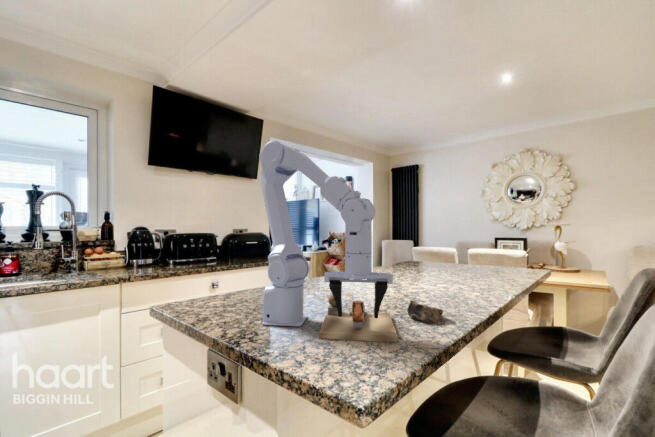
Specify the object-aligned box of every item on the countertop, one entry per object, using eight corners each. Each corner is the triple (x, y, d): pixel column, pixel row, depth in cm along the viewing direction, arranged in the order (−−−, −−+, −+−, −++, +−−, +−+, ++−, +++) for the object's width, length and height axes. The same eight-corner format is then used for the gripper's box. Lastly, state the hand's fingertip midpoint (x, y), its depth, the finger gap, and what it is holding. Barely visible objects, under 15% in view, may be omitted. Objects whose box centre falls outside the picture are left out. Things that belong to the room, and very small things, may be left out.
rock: (431, 327, 68) (454, 312, 74) (423, 303, 69) (446, 290, 75) (404, 326, 75) (426, 313, 81) (396, 304, 76) (419, 292, 82)
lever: (352, 306, 79) (352, 287, 79) (364, 306, 78) (364, 287, 79) (350, 327, 62) (350, 303, 62) (365, 328, 61) (365, 303, 62)
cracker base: (319, 338, 61) (319, 308, 61) (327, 315, 77) (327, 291, 77) (397, 342, 59) (397, 311, 59) (389, 317, 75) (389, 293, 75)
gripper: (322, 253, 60) (322, 320, 60) (394, 255, 58) (394, 323, 58) (326, 251, 67) (326, 310, 67) (390, 252, 65) (390, 313, 65)
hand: (357, 316), depth 63 cm, fingers open, 7 cm apart
